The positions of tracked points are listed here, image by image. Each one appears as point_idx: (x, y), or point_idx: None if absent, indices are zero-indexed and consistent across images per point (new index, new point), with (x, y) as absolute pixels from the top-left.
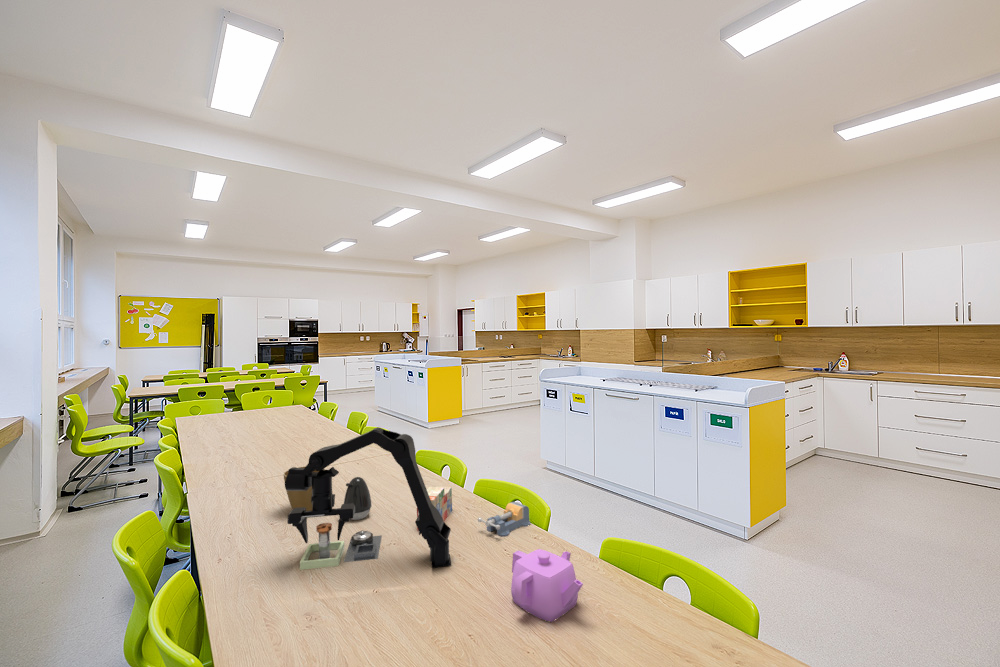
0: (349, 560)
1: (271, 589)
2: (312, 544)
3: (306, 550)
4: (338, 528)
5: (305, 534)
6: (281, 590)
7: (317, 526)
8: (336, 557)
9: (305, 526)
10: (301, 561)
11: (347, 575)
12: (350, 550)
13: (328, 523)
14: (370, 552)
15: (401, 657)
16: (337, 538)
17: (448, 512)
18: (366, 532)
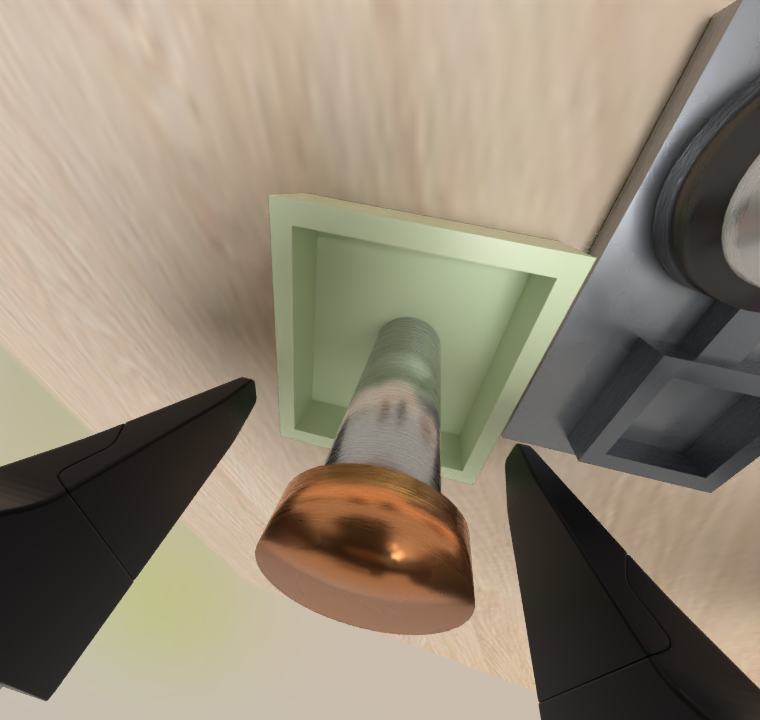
0: (537, 436)
1: (235, 452)
2: (298, 218)
3: (277, 315)
4: (537, 657)
5: (193, 492)
6: (270, 470)
7: (268, 561)
8: (466, 471)
9: (101, 536)
10: (285, 431)
11: (495, 492)
12: (592, 323)
13: (425, 570)
14: (686, 483)
15: (518, 684)
16: (506, 485)
17: None
18: None
